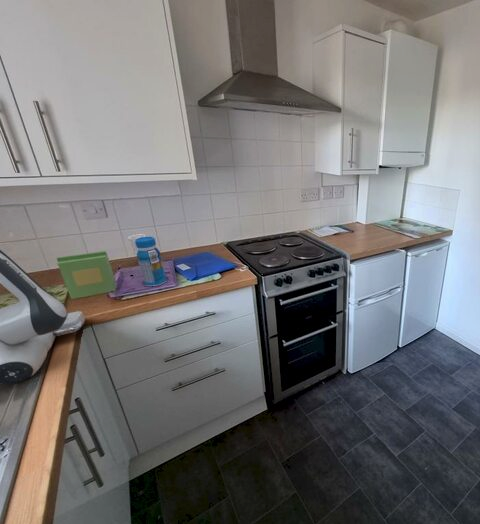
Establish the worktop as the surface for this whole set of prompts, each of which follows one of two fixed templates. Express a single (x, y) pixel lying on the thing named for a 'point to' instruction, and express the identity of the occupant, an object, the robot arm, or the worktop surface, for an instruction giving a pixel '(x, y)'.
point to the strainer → (134, 242)
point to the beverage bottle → (150, 262)
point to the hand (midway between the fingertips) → (46, 316)
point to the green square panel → (87, 274)
